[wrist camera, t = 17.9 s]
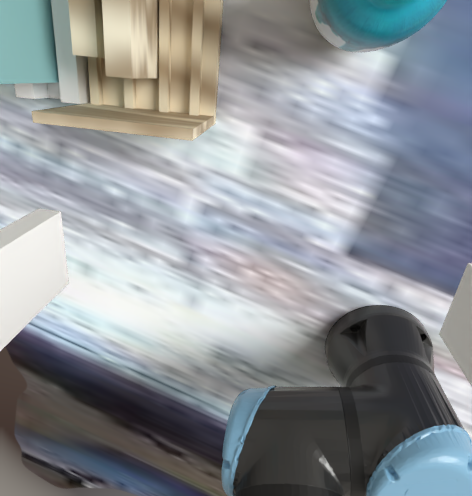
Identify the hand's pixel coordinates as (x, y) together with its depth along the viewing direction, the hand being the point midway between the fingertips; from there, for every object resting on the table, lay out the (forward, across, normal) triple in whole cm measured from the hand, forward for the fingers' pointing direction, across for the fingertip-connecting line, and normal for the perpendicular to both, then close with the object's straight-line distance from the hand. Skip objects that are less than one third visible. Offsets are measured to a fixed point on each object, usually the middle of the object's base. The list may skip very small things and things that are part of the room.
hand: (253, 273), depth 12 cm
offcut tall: (+35, +15, -11) cm, 40 cm away
